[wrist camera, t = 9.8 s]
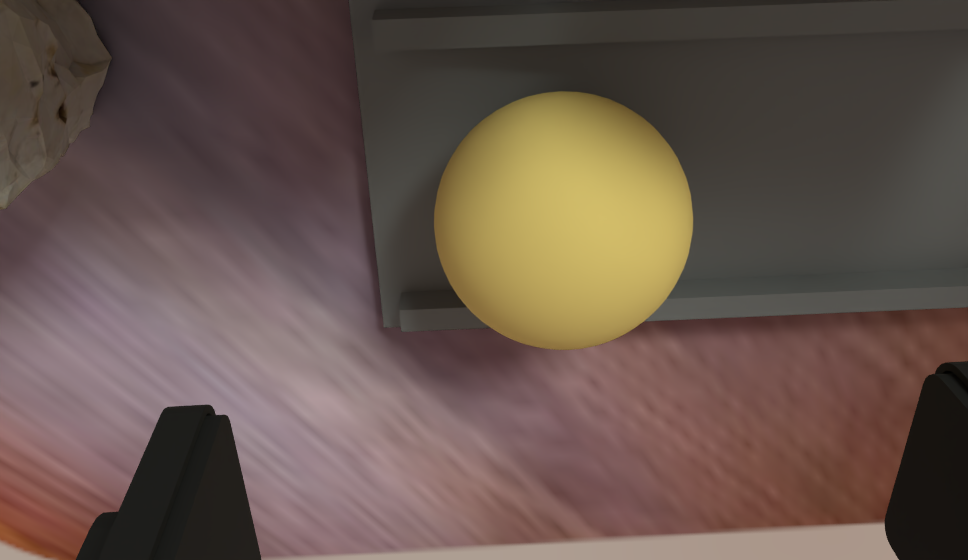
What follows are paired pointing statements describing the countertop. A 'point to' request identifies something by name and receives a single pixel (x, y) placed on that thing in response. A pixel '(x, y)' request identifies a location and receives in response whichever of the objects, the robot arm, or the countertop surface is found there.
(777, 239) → the mat
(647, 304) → the mustard ball
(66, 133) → the rock
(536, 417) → the countertop surface
